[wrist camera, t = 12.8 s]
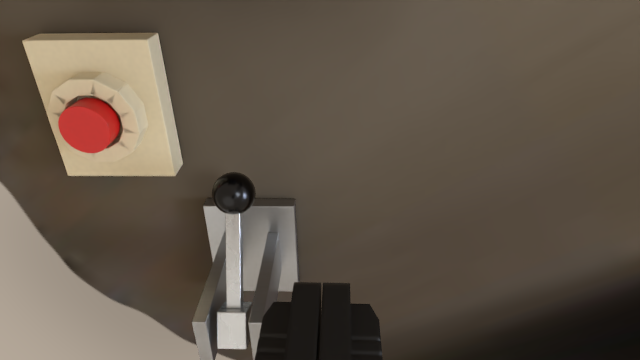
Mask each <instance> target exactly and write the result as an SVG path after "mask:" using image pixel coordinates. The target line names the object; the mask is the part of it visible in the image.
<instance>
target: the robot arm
mask: <svg viewBox="0 0 640 360" xmlns="http://www.w3.org/2000/svg"><path fill="white" fill-rule="evenodd" d="M255 360H382V349H381V341H380V326H379V319H378V318H377V316H376V314H375V313H374V311H373V309H372V307H371V306H370V304H350V283H323V294H322V314H321V283H308V282H294V285H293V293H292V300H291V302H273V303H272V305H271V306H270V308H269V309H268V310H267V312H266V313H265V315H264V316H263V319H262V324H261V329H260V334H259V339H258V345H257V352H256V355H255Z"/></svg>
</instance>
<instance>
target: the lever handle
mask: <svg viewBox="0 0 640 360" xmlns="http://www.w3.org/2000/svg"><path fill="white" fill-rule="evenodd" d="M255 194H256V193H255V187H254V185H253V183H252V181H251V180H250V179H249V178H248V177H247V176H245V175H244V174H241V173H237V172H230V173H227V174H224V175H222V176H221V177H220V178H218V180H217V181H216V182H215V184H214V186H213V189H212V198H213V201H214V204H215V205H216V207H217V208H218V209H219V210H220V211H222V212H224V213H225V219H226V302H224V303H223V305H222V306H221V307H220V309H219V310H218V311H217V348H218V349H247V347H248V345H249V342H250V340H251V339H250V332H249V324H248V322H249V318H250V313H251V308H252V302H243V213H244V212H246V211H247V210H248V209H249V208H250V207H251V206H252V204H253V202H254V200H255Z"/></svg>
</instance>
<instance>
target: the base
mask: <svg viewBox="0 0 640 360" xmlns="http://www.w3.org/2000/svg"><path fill="white" fill-rule="evenodd" d="M203 209H204V214H205V220H206V226H207V232H208V237H209V243H210V249H211V254H212V260H213V264H212V267H211V270H210V273H209V276H208V278H207V281H206V284H205V287H204V290H203V292H202V295H201V298H200V301H199V304H198V306H197V309H196V312H195V315H194V318H193V320H192V325H193V329H194V334H195V338H196V343H197V347H198V351H199V356H200V360H215V357H216V354H217V350H218V348H217V311H218V310H219V309H220V307H221V306H222V305H223V303H224V302H226V219H225V213H224V212H222V211H220V210H219V209H218V208H217V207H216V205H215V204H214V201H213V199H206V201H205V203H204V205H203ZM294 282H299V264H298V245H297V225H296V206H295V199H255V200H254V202H253V204H252V206H251V207H250V208H249V209H248V210H247V211H246V212H244V213H243V291H255V294H254V299H253V304H252V308H251V313H250V318H249V322H248V324H249V332H250V339H251V346H252V354H253V360H255V355H256V352H257V345H258V339H259V334H260V329H261V324H262V319H263V316H264V315H265V313H266V312H267V310H268V309H269V308H270V306H271V305H272V303H273V302H277V296H278V291H293V285H294Z"/></svg>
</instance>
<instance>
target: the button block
mask: <svg viewBox="0 0 640 360" xmlns="http://www.w3.org/2000/svg"><path fill="white" fill-rule="evenodd" d="M22 42H23V45H24V48H25V51H26V54H27V57H28V60H29V63H30V65H31V68H32V71H33V74H34V77H35V80H36V83H37V86H38V89H39V92H40V95H41V98H42V101H43V104H44V106H45V109H46V113H47V116H48V119H49V122H50V125H51V128H52V131H53V133H54V136H55V139H56V142H57V145H58V147H59V150H60V153H61V156H62V159H63V162H64V165H65V168H66V171H67V174H68V176H176V174H177V172H178V171H179V169H180V168H181V166H182V164H183V161H182V156H181V151H180V146H179V140H178V135H177V130H176V125H175V119H174V114H173V109H172V104H171V98H170V93H169V88H168V83H167V77H166V72H165V67H164V62H163V57H162V51H161V46H160V41H159V36H158V33H59V34H38V35H35V36H32V37H30V38H27V39H25V40H23V41H22ZM83 98H95V99H99V100H101V101H103V102H105V103H107V104H108V105H109V106H110V107H111V108H112V109H113V110H114V111H115V112H116V114H117V116H118V118H119V121H120V132H119V134H118V136H117V137H116V138H115V139H114V140H113V141H112V142H111V143H110V144H109V145H108V146H107V147H106V148H105V149H104V150H103V151H101V152H98V153H85V152H81V151H79V150H77V149H75V148H73V147H72V146H70V145H69V144H68V143H67V142H66V141H65V140H64V138H63V137H62V135H61V133H60V130H59V126H58V121H59V117H60V115H61V113H62V112H63V111H64V110H65V109H67V108H68V107H70V106H71V105H72V104H74V103H75V102H77V101H78V100H80V99H83Z"/></svg>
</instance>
